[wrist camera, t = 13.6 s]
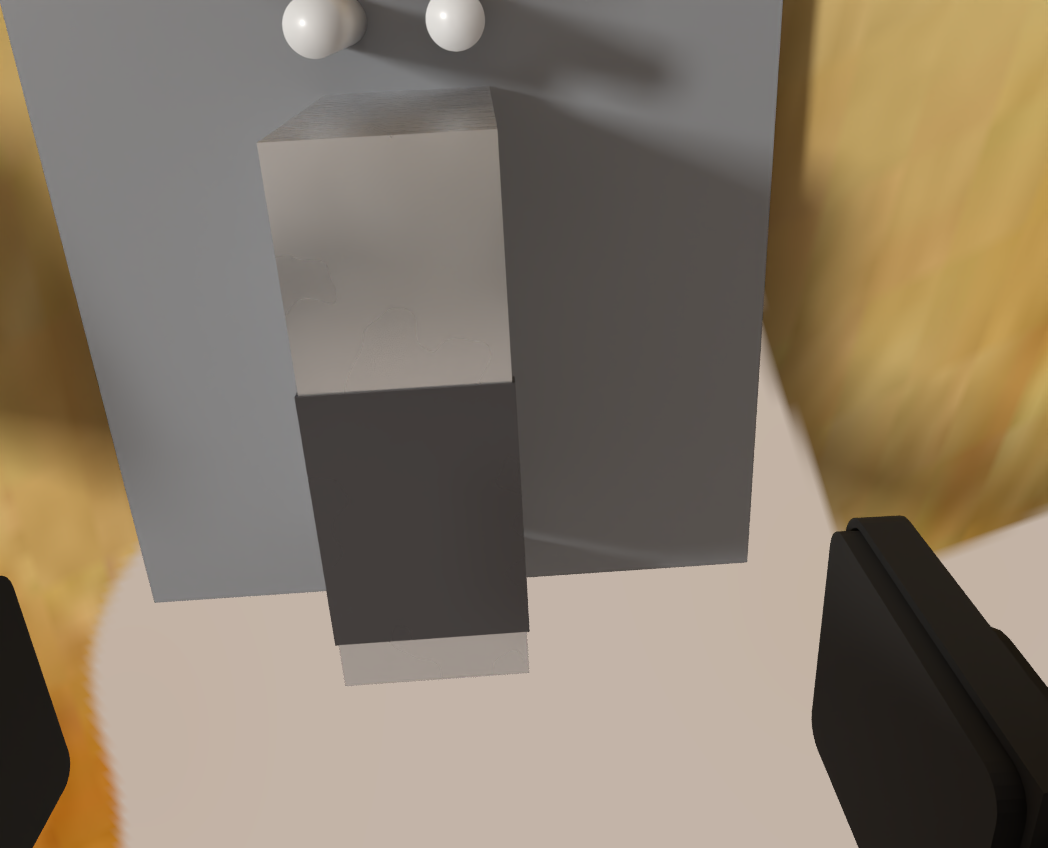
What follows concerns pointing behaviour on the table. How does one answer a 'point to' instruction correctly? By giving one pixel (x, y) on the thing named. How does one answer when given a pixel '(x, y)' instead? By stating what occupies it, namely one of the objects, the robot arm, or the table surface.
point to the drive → (404, 377)
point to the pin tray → (529, 242)
